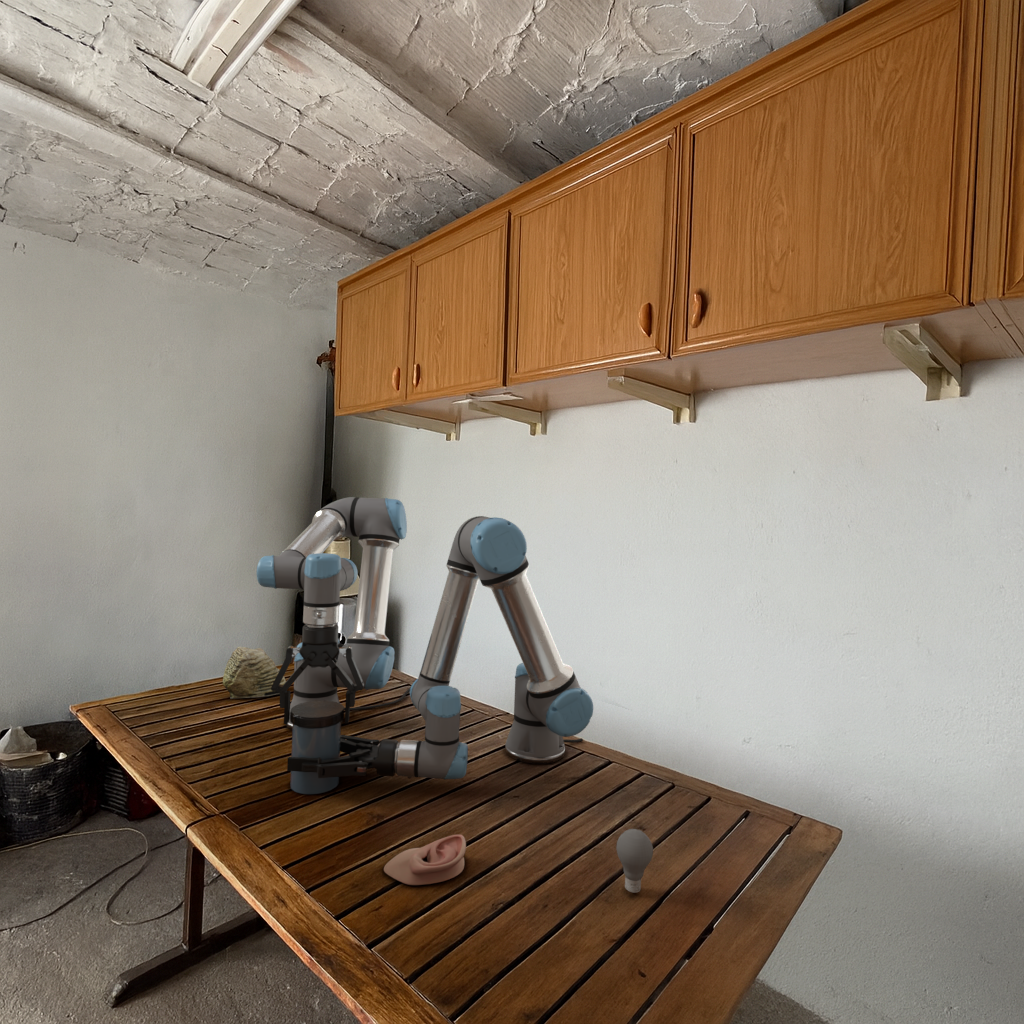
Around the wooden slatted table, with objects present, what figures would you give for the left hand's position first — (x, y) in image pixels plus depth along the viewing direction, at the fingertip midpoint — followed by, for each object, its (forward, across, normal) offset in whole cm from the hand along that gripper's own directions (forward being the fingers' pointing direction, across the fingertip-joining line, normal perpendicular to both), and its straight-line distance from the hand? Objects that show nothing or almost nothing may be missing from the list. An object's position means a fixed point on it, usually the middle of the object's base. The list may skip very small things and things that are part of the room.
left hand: (317, 721), depth 139 cm
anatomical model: (+14, +23, -34) cm, 44 cm away
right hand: (+7, -4, +1) cm, 8 cm away
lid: (-3, 0, 0) cm, 3 cm away
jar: (+14, 0, 0) cm, 14 cm away
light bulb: (+14, +57, -45) cm, 74 cm away
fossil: (+14, -26, +64) cm, 70 cm away
